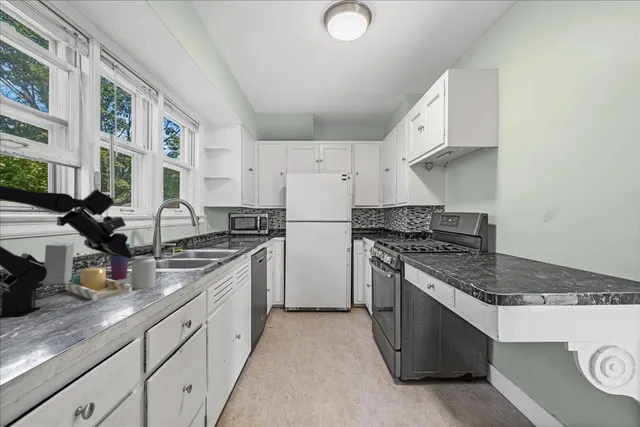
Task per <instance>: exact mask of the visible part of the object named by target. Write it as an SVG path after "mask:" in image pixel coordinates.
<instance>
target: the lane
mask: <svg viewBox="0 0 640 427" xmlns="http://www.w3.org/2000/svg"><path fill="white" fill-rule="evenodd" d="M65 291H67V292H71V293H73V294H75V295H79V296H81V297H84V298H86V299H88V300H91V301H96V300H97V301H98V300H102V299H108V298H112V297H117V296H122V295H126V294H132V293H133V288H132V284H129V283H126V282H121V281H119V280H112V278H111V279H110V278H108V277H106V280H105V289H102V290H98V291H95V290H92V289H89V288H86V287H83V286H80V285H77V284H74V283H73V281H68V282H66V283H65Z"/></svg>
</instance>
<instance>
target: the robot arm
mask: <svg viewBox="0 0 640 427" xmlns="http://www.w3.org/2000/svg"><path fill="white" fill-rule="evenodd" d="M0 201H3V202H10V203H15V204H16V203H17V204H22V205H28V206H30V207H33V208H36V209H39V210H43V211H47V212H50V213H52V214H53V213H54V214H64V215H63V216H57V217H56V226H59V227H64V226H65V225H67V224H68V225H69V227H71V228H72V229H74V230H75V231H77V232H78V235H79V236H81V237H82V238H83V237H84V238H85V240H83V244H84V246H86V247H87V249H91V250H93V251H97V252H100V253H104V254H106V255H113V256H122V257H125V258H128V260H129V259H130V260H131V259H132V258H133V254H132V252H130V249H129V250H128V248H127V246H126V243H127V241H128V239H129V237H128V236H127V235H126V234H125V233H122V232H115V230H118V229H121V228H124V227H125V226H127V224H126V223H125V220H124V218H123V217H122V216H116V217H115V216H114V217H111V216H108V215H107V216H104V217H103V218H102V221H98V220H96V219H95V218H94V217H95V216H96V215H97V216H101V215H102V214H104V213H106V211H108V209H110V208H111V207H112V206H113V205H114V204H115V201H114V200H113V199H112V198H111V196H109V195H107V194H106V193H104V192H102V191H100V190H99V189H93V190H92V191H91V192H90V194H88V195H86V196H85V197H84V198H83V199H81V198H80V199H78V198H74V197H72V195H70V194H67V193H59V192H44V191H43V192H42V191H40V192H39V191H38V192H37V191H30V190H25V189H19V188H15V187H10V186H6V185H5V186H4V185H0ZM77 208H78V209H77ZM73 209H76V210H73ZM93 216H94V217H93ZM44 264H45V262H43V261H39V260H38V259H36V258H35V257H34V256H33V255H31V254H28V253H25V252H23V253H22V254H21V255H20V256H19V255H18V254H17V255H16V254H14V253H13V252H12V251H9V250H8V249H6V248H5V247H3V246H1V245H0V268H1V269H2V270H3V271H5V272H6V273H7V275H8V276H7V277H5V278H4V279H3V280H1V281H0V286H1V288H2V290H4V291H3V292H1V306H0V308H1V310H0V317H21V316H22V317H23V316H25V315H27V314H30V313H32V312H35V311H38V310H40V309H41V307H40V306H39V307H38V306H36V290H37V288H38V286H39V284H40V283H41V282H43V280H44V279H45V277H46V275H47V269H46V268H45V267H44Z"/></svg>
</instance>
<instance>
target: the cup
mask: <svg viewBox="0 0 640 427" xmlns="http://www.w3.org/2000/svg"><path fill="white" fill-rule="evenodd" d="M126 246H127V248H128V250H129V251H130V248H131V243H128V242H126ZM109 255H110V254H109ZM128 267H129V259H128V258H125V257H122V256H113V255H110V269H111V270H110V272H111V279H112V280H115V281H119V280H125V279H127V278H128V269H129V268H128Z"/></svg>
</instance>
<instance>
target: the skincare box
mask: <svg viewBox="0 0 640 427" xmlns="http://www.w3.org/2000/svg"><path fill="white" fill-rule="evenodd" d="M74 249H75V243H74V242H62V241H61V242H58V241H57V242H52V243H49V244H46V245H45V254H44V264H43V266H44V267H45V268H46V269H47V275H46V277H45V279H44V280H43V281H42V287H45V286H49V285H60V284H61V285H62V284H64V285H65V284H66V282H70V281H71V280H72V278H73V273H72V272H73V263H74V262H73V261H74Z"/></svg>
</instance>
